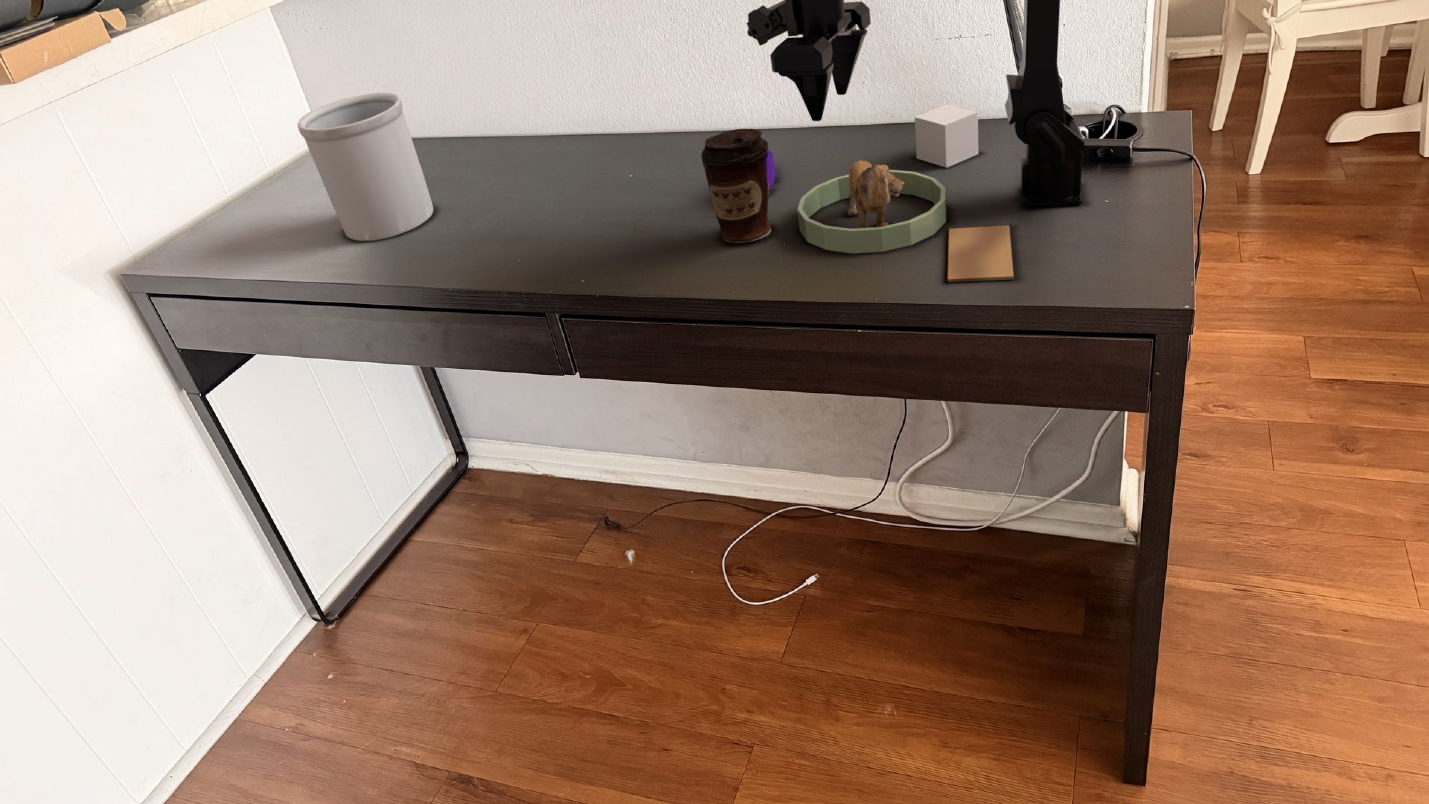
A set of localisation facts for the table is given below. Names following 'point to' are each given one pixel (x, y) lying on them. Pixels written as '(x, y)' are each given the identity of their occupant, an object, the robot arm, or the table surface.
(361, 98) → the utensil holder
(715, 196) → the coffee cup
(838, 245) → the pale green faceted ring
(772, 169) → the crystal
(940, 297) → the table surface
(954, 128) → the white cube
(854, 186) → the lion figurine
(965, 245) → the cork mat
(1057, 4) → the robot arm
